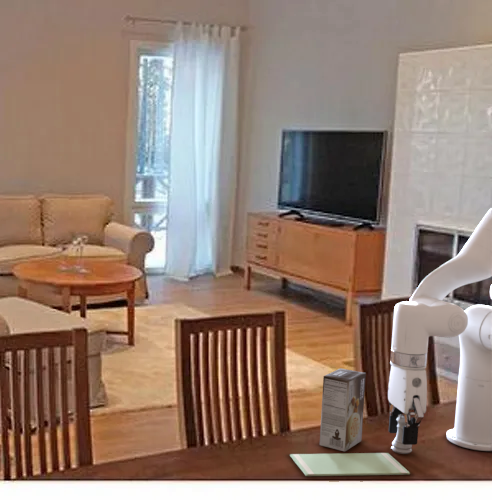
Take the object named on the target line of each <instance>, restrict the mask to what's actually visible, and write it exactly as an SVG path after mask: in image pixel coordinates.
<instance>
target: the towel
mask: <svg viewBox="0 0 492 500" xmlns="http://www.w3.org/2000/svg"><path fill="white" fill-rule="evenodd" d="M289 457H290V458H291V460H293V462H294V463H295V464H296V466H297V467H298V468H299V470H300V471H301V472H302V474H304V476H305V477H334V476H335V477H338V476H339V477H341V476H343V477H344V476H390V475H391V476H392V475H393V476H395V475H396V476H397V475H398V476H399V475H402V476H403V475H411V472H410V471H409V470H407V469H406V467H404V466H403V464H401V463H400V462H399V461H398V460H397V459H396V458H394V457H393V456H392V455H391V454H390V453H389V452H364V453H363V452H361V453H359V452H356V453H355V452H354V453H352V452H351V453H350V452H349V453H345V452H343V453H289Z"/></svg>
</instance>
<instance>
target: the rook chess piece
mask: <svg viewBox="0 0 492 500" xmlns="http://www.w3.org/2000/svg"><path fill="white" fill-rule="evenodd" d="M402 415H403V414H400V415H398V418H397V419H396V420H397V422H398V425H397V427H398V428H397V433H395V434H396V435H395V437H394V438H393V441H392V442H391V445H392V446H391V447H390V449H392V452H394V453H396V454H400V455H409V454H411V453H412V452H413V449H412V447H413V445H404V444H403V443H402V437H403V426H405V418H404V416H402ZM410 419H411V415H409V420H410Z"/></svg>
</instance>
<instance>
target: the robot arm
mask: <svg viewBox="0 0 492 500" xmlns="http://www.w3.org/2000/svg"><path fill="white" fill-rule="evenodd" d="M489 278H492V207H490V208H489V209H488V211H487V212H486V213H485V215H484V216H483V217H482V219H481V220H480V222H479V223H478V225H477V226H476V227H475V229H474V231H473V232H472V233H471V235H470V236H469V238H468V240H467V241H466V242H465V244H464V245H463V247H462V249H461V250H460V251H459V253H458V254H457V255H456V256H454V257H452V258H451V259H449V260H448V261H446V262H444V263H443V264H441V265H439V267H437V268H436V269H434V270H433V271H431V272H430V273H428V275H426V276H425V277H424V278H423V279H422V280H421V282H420V283H419V285H418V287H416V289H415V290H414V291H413V294H412V296H411V297H410V298H409V301H407V300H406V301H400V302H398V303H396V304H395V306H394V309H393V317H392V319H393V320H392V333H391V334H392V335H391V347H390V348H391V349H390V358H389V360H390V362H389V364H390V371H389V378H388V386H387V387H388V388H387V401H388V405H389V409H388V414H389V416H388V417H389V418H388V419H389V420H388V433H389V434H397V428H398V427H397V425H398V422H397V420H396V419H397V418H398V415H400V414H402V416H404V418H405V426H403V437H402V443H403V444H404V445H412V446H413V445H414V446H415V445H417V444H418V437H419V428H420V424H421V423H422V420H423V419H424V417H425V416H424V414H426V412H427V402H428V401H427V397H428V381H427V378H428V377H427V370H426V369H427V363H428V352H429V351H428V350H429V349H428V348H429V338H430V337H438V338H455V337H458V341H459V367H458V368H459V369H458V381H457V393H456V405H455V416H454V425H453V426H454V427H453V428H451V429H448V430H447V431H446V439H447V440H448V441H449V442H450V443H451V444H454V445H456V446H458V447H462V448H465V449H470V450H474V451H480V452H481V451H482V452H492V306H491V305H485V304H474V305H471V306H469V307H467V308H465V310H464V309H463V308H462V307H461V306H460V305H458V304H455V303H453V302H449V301H445V300H444V299H445V298H446V297H447V296H448V295H449V294H450V293H452V292H453V291H455V290H456V289H458V288H460V287H463V286H466V285H470V284H475V283H478V282H481V281H484V280H488V279H489ZM489 297H490V299H491V300H492V285H490V288H489ZM409 416H412V417H410V420H409Z"/></svg>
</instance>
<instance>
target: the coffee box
mask: <svg viewBox="0 0 492 500" xmlns="http://www.w3.org/2000/svg"><path fill="white" fill-rule="evenodd" d="M366 375H367V373H366V372H362V371H357V370H351V369H345V368H338V369H336V370H334V371H332V372H329V373H327V374H325V375H323V381H322V397H321V398H322V399H321V411H320V413H321V414H320V433H319V446H322V447H325V448H328V449H329V448H330V449H332V450H337V451H340V452H343V453H345V452H347V451H349V450H350V449H351V448H353V447H354V446H356V445H357V444H359V443H361V442H362V441H363V440H362V437H363V425H364V424H363V423H364V409H365V393H366V392H365V391H366Z"/></svg>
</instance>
